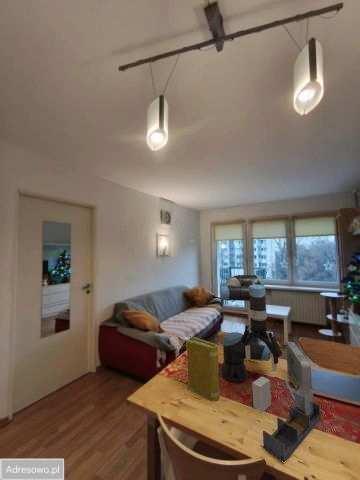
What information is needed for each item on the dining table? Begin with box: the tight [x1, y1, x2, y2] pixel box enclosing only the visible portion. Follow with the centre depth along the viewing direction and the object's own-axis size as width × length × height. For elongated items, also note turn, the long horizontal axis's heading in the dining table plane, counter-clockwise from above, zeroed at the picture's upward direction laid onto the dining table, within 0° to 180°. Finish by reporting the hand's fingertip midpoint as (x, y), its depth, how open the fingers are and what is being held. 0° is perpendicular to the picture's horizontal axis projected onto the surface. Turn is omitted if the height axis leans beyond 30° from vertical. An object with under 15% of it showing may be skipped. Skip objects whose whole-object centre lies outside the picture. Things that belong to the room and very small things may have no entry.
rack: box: [262, 385, 322, 463], centre depth 85 cm, size 8×31×12 cm, turn 127°
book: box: [185, 336, 220, 402], centre depth 111 cm, size 17×7×25 cm, turn 47°
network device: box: [285, 341, 313, 402], centre depth 109 cm, size 26×9×20 cm, turn 168°
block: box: [251, 376, 272, 413], centre depth 100 cm, size 4×8×11 cm, turn 127°
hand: (260, 364), depth 100 cm, fingers open, 13 cm apart
